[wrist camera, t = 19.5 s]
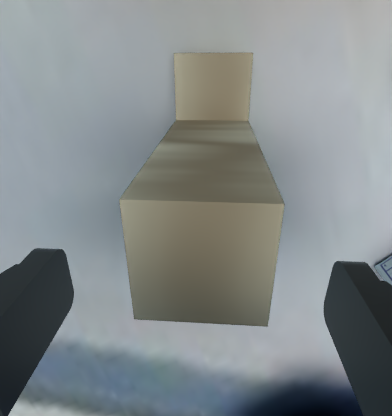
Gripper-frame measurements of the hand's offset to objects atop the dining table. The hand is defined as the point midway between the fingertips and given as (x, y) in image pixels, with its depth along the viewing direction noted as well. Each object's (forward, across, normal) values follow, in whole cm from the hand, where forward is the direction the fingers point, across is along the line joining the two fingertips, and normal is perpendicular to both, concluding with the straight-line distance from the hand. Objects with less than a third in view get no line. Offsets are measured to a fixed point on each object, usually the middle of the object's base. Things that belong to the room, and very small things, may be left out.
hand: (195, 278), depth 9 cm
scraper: (+9, 0, -2) cm, 9 cm away
